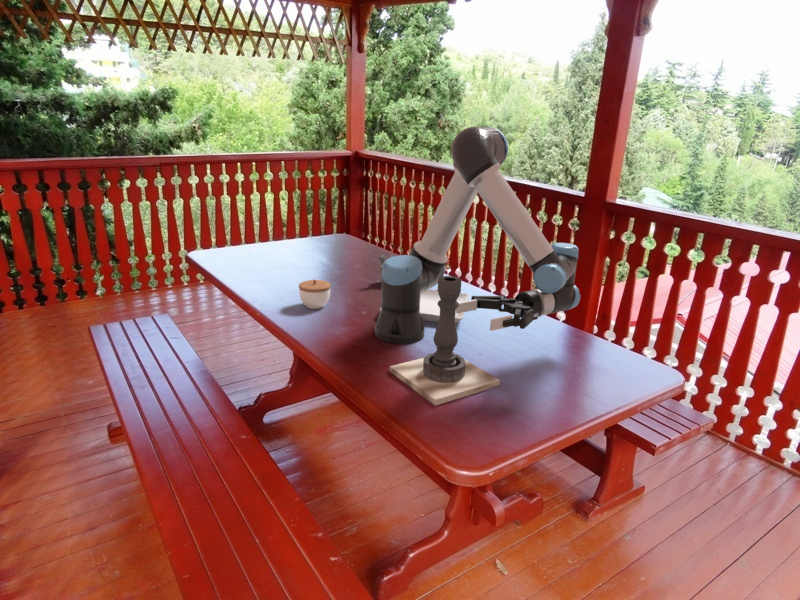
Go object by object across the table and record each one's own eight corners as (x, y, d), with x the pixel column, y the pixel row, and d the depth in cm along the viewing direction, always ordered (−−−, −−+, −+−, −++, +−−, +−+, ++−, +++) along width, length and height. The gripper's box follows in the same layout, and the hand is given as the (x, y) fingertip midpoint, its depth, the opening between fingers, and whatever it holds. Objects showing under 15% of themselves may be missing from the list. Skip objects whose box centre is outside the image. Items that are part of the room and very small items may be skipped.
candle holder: (453, 367, 142) (460, 275, 134) (457, 378, 136) (464, 283, 128) (430, 367, 142) (435, 275, 134) (432, 378, 136) (438, 282, 128)
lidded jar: (335, 308, 186) (335, 282, 183) (305, 313, 181) (305, 286, 177) (323, 299, 194) (323, 273, 191) (294, 303, 189) (294, 277, 186)
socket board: (389, 371, 142) (390, 354, 140) (450, 355, 153) (451, 339, 151) (435, 405, 126) (436, 386, 125) (499, 385, 137) (501, 367, 135)
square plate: (461, 329, 173) (462, 317, 172) (378, 320, 178) (378, 309, 176) (468, 302, 198) (469, 292, 197) (395, 294, 203) (395, 284, 202)
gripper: (567, 331, 141) (505, 347, 130) (501, 303, 160) (443, 314, 149) (570, 304, 138) (508, 318, 127) (503, 278, 158) (445, 288, 147)
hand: (473, 316), depth 138 cm, fingers open, 13 cm apart
